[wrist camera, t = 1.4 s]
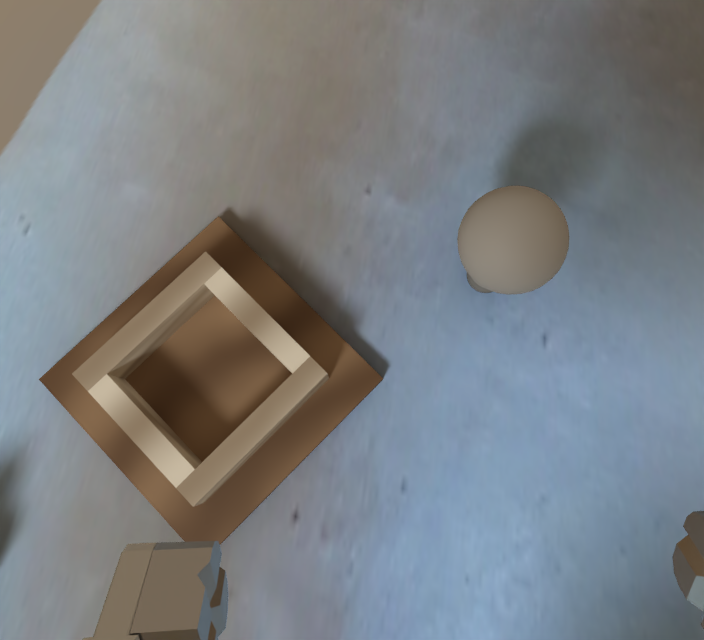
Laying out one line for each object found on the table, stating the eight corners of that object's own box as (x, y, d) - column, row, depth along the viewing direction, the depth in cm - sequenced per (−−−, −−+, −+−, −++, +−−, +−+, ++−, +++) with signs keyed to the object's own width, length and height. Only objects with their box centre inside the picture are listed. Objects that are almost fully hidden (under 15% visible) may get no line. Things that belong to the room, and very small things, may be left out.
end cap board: (382, 379, 40) (385, 373, 36) (206, 558, 38) (189, 571, 34) (221, 221, 43) (208, 199, 39) (46, 380, 40) (13, 374, 36)
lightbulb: (516, 331, 41) (575, 291, 30) (429, 308, 41) (457, 261, 31) (534, 248, 42) (596, 181, 32) (449, 227, 43) (482, 154, 32)
